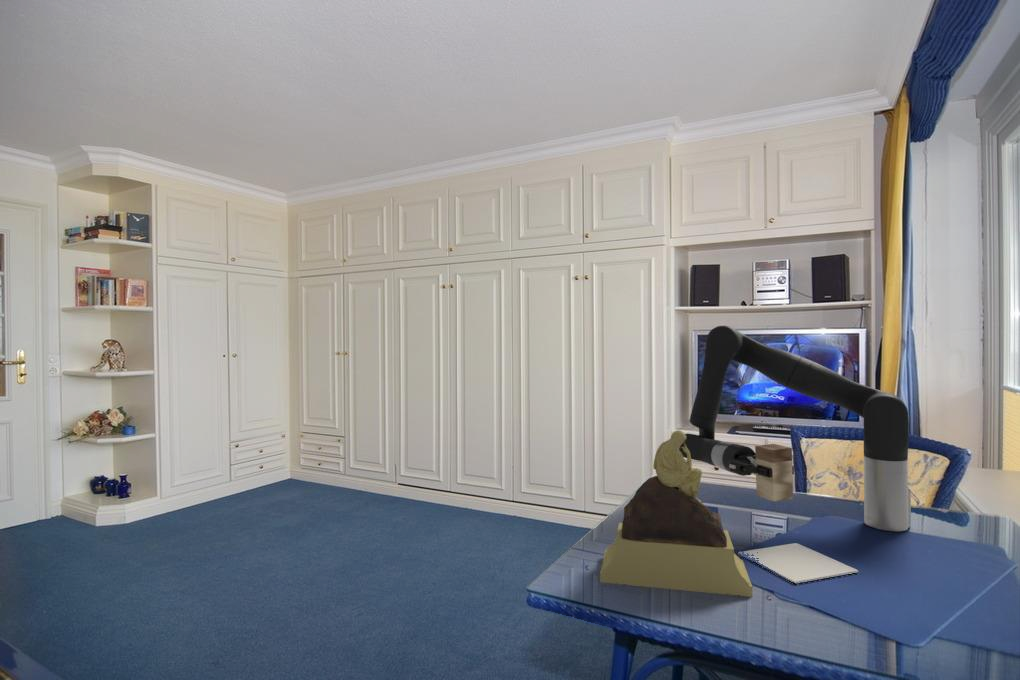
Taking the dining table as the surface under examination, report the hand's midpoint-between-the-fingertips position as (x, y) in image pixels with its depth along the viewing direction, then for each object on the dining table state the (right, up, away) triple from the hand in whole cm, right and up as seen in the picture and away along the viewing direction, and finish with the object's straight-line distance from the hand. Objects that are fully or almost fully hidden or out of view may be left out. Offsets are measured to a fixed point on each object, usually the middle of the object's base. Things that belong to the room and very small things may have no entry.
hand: (781, 471), depth 133 cm
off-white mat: (-3, -17, -13) cm, 21 cm away
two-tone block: (-1, -7, +2) cm, 7 cm away
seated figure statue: (-31, -17, -18) cm, 39 cm away
